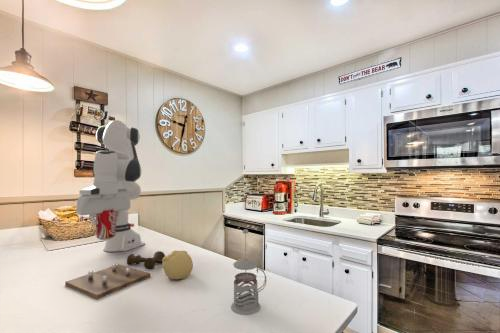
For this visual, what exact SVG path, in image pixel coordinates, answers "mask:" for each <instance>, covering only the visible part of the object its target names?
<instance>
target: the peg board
mask: <svg viewBox="0 0 500 333" xmlns="http://www.w3.org/2000/svg"><path fill="white" fill-rule="evenodd" d="M149 278H151V272H147V271H143V270H140V269H137V268H133V267H130V266H126V265H123V264H120V263H119V264H117V263H112V264H111V266H109V267H106V268H103V269H99V270H97V271H94V270H90V271H88V274H85V275H82V276H79V277H76V278H72V279H68V280H66V281H65V283H64V284H65V285H64V286H65V287H68V288H70V289H72V290H74V291H77V292H79V293H82V294H84V295H85V296H88V297H89V298H90V297H91V298H92V299H95V300H99V299H101V298H103V297H107V296H109V295H111V294H113V293H115V292H118V291H120V290H122V289H125V288H128V287H130V286H133V285H135V284H137V283H139V282H142V281H144V280H147V279H149Z"/></svg>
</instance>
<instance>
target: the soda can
mask: <svg viewBox="0 0 500 333" xmlns="http://www.w3.org/2000/svg"><path fill="white" fill-rule="evenodd" d="M95 219H96V220H98V225H95V231H96V232H95V236H96V238H97V239H99V240H100V241H106V240H107V239H111V238H113V237H114V236H115V235H116V212H115V211H114V208H113V209H108V210H103V212H102V213H98V214H96V217H95Z"/></svg>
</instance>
